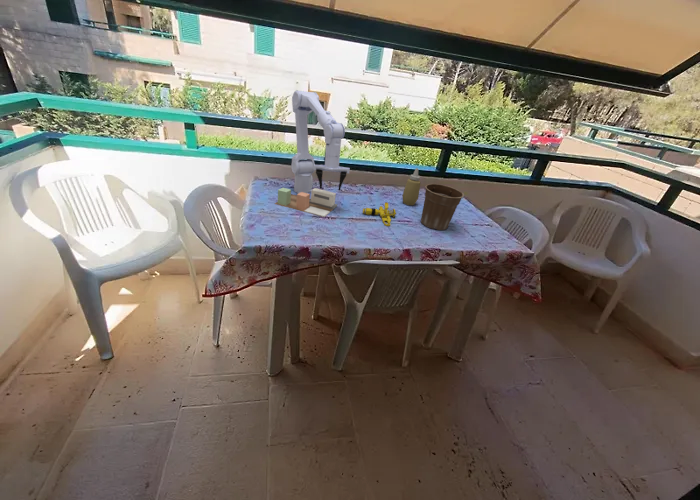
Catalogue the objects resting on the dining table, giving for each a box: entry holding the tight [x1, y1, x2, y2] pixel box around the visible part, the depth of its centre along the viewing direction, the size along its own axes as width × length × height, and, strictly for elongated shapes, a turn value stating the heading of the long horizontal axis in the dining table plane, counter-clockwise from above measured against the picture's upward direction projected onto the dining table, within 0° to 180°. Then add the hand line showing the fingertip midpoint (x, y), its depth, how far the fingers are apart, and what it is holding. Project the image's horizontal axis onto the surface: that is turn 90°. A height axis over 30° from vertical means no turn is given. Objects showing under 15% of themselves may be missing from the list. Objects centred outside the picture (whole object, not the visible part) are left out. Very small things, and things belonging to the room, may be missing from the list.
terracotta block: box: [296, 192, 311, 210], centre depth 137 cm, size 4×4×6 cm
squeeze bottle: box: [402, 167, 422, 206], centre depth 160 cm, size 8×8×18 cm
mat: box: [304, 206, 331, 218], centre depth 136 cm, size 6×9×1 cm, turn 71°
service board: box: [274, 193, 337, 218], centre depth 142 cm, size 15×23×1 cm, turn 71°
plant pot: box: [420, 183, 465, 231], centre depth 141 cm, size 16×16×16 cm
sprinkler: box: [362, 201, 397, 227], centre depth 143 cm, size 19×4×15 cm
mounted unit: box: [309, 187, 338, 210], centre depth 143 cm, size 5×12×6 cm, turn 71°
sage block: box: [277, 187, 292, 206], centre depth 138 cm, size 4×4×6 cm
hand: (330, 188), depth 136 cm, fingers open, 7 cm apart
